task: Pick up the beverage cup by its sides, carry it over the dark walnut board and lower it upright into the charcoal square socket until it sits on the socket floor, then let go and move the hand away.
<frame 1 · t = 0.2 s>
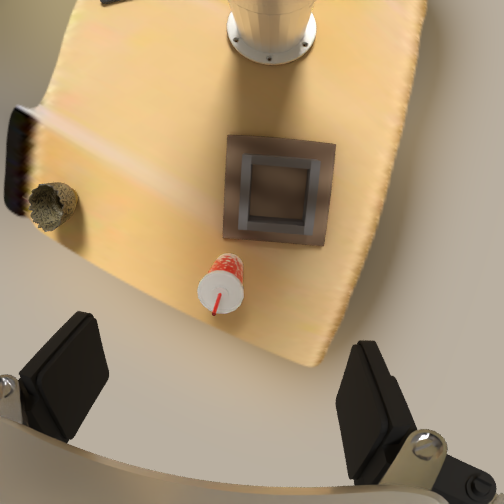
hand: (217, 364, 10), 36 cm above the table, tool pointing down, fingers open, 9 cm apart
socket board: (277, 190, 44), on the table
cup: (72, 197, 46), on the table
beverage cup: (229, 266, 49), on the table
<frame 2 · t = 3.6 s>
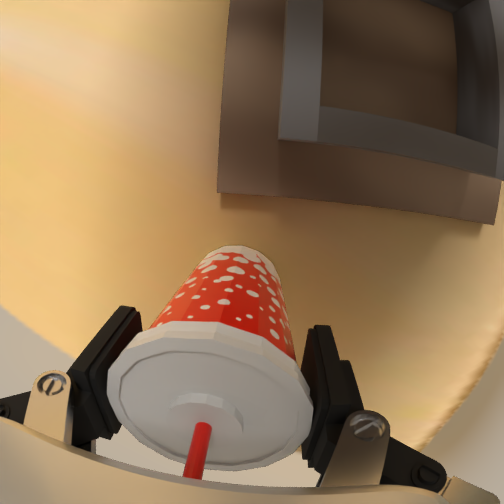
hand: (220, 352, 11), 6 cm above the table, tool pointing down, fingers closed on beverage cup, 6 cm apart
socket board: (384, 57, 12), on the table
beverage cup: (236, 285, 16), on the table, touching gripper
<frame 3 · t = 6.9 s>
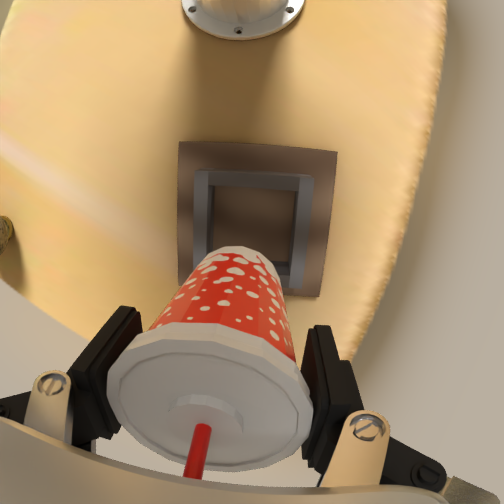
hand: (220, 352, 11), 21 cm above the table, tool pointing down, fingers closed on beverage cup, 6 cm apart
socket board: (253, 219, 31), on the table
cup: (7, 226, 33), on the table
beverage cup: (236, 285, 16), point 15 cm above the table, touching gripper
when the fingers open (8 cm above the table, at t = 10.2 s): beverage cup drops 1 cm, resting on socket board.
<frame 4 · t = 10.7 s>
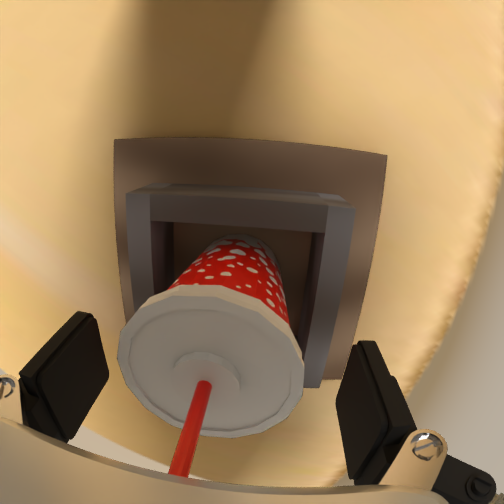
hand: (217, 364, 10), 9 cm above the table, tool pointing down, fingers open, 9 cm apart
socket board: (240, 268, 19), on the table
beverage cup: (239, 271, 18), point 1 cm above the table, touching socket board
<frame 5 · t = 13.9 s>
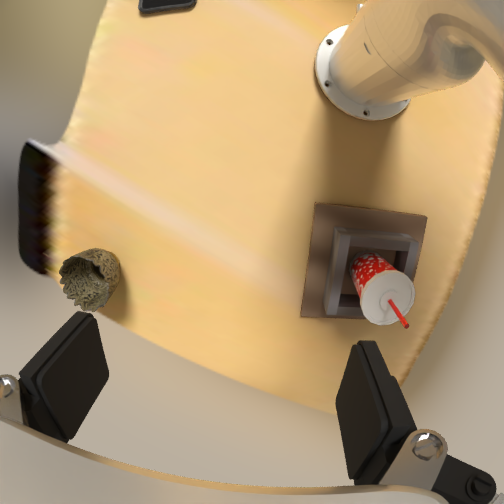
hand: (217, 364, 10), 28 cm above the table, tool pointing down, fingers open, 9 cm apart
socket board: (363, 265, 39), on the table
cup: (110, 261, 41), on the table
beverage cup: (365, 266, 38), point 1 cm above the table, touching socket board
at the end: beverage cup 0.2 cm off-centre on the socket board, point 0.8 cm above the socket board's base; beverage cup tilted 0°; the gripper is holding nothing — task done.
